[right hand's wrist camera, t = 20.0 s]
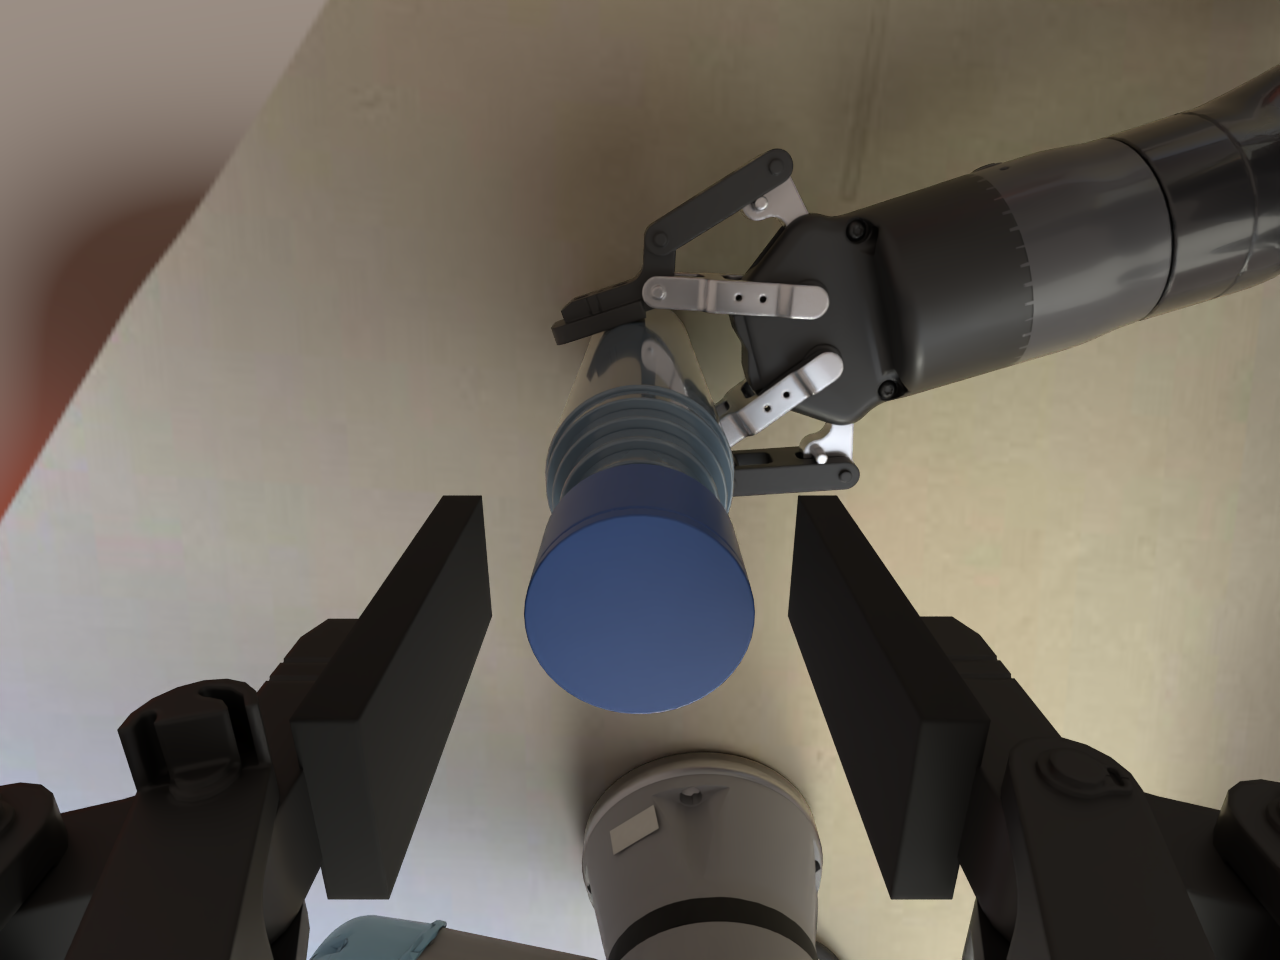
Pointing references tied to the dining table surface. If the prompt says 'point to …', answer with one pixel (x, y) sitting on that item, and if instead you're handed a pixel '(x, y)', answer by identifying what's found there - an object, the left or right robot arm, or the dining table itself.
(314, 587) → the dining table surface
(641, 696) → the cap
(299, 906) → the right robot arm
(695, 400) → the bottle
